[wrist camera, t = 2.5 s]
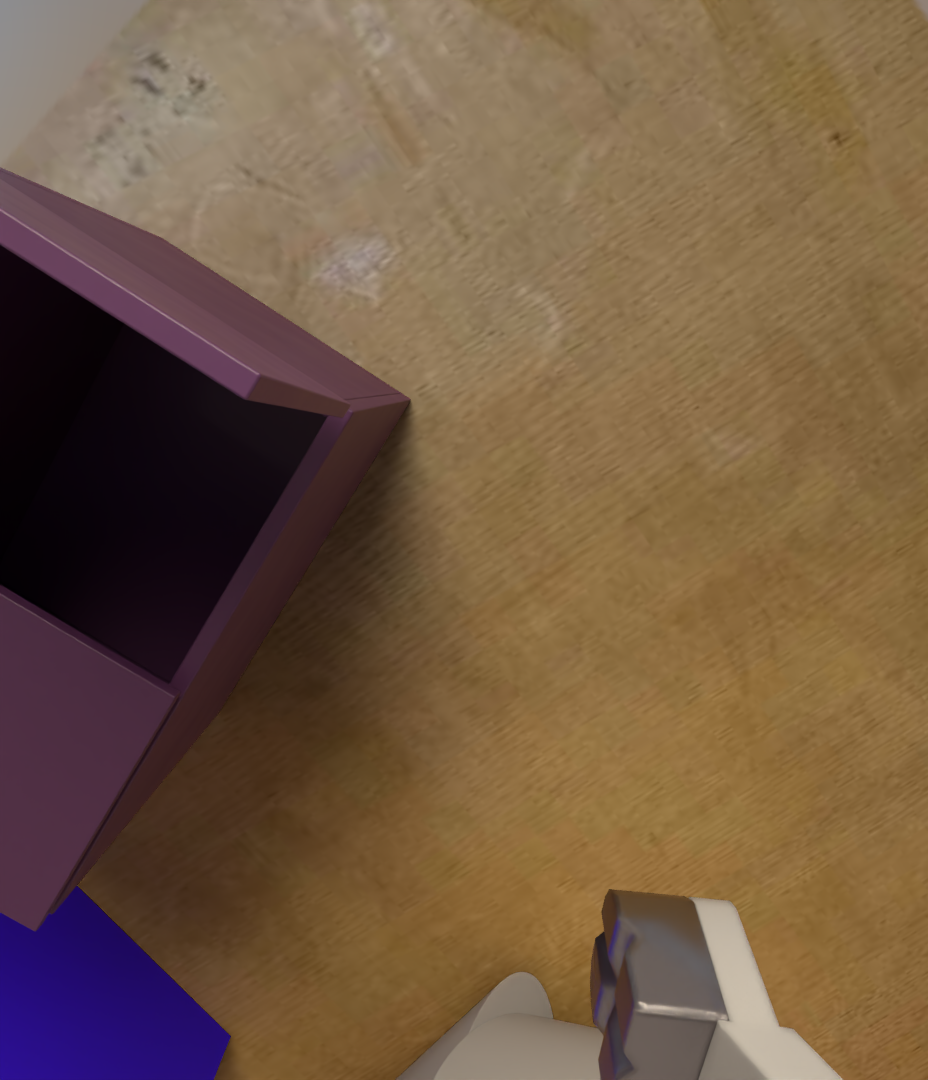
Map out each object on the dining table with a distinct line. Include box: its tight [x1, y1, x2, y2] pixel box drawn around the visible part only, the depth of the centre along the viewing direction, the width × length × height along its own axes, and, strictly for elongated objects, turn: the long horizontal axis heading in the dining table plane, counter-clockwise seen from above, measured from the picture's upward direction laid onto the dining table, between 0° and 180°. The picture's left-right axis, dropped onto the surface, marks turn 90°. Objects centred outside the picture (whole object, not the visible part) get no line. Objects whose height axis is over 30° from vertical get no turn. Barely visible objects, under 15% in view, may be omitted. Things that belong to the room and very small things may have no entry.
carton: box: [0, 168, 411, 931], centre depth 26 cm, size 17×12×14 cm
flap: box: [0, 179, 351, 418], centre depth 13 cm, size 8×12×1 cm
